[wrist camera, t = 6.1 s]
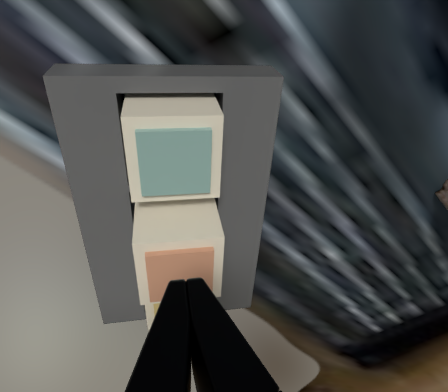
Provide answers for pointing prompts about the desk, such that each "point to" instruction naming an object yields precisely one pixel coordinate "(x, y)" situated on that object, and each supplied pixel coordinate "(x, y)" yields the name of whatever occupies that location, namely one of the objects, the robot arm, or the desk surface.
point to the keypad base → (118, 175)
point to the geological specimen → (443, 194)
